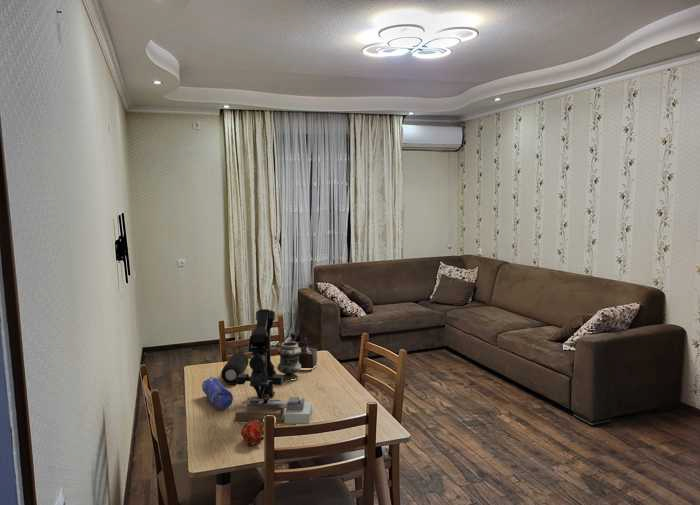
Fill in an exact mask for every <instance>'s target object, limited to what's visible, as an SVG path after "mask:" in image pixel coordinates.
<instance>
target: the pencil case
mask: <svg viewBox="0 0 700 505" xmlns="http://www.w3.org/2000/svg"><path fill="white" fill-rule="evenodd" d="M201 387H202V388H201V390H202V392H203V393H204V395H206V397H207V398H208V400H209V401H210V403H211V404H212V405H213V407H214V408H215V409H216V410H218V411H224V410H227V409H228V408H229V407H231V405H232V404H233V401H234V396H233V393H232V392H231V391H229V390H228V388H226V387H225V386H223V384H222V383H221V381H220V380H219V379H218V378H217V377H214V376H212V377H209V378H207V379H206V380H204V381H203V382H202V383H201Z"/></svg>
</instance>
